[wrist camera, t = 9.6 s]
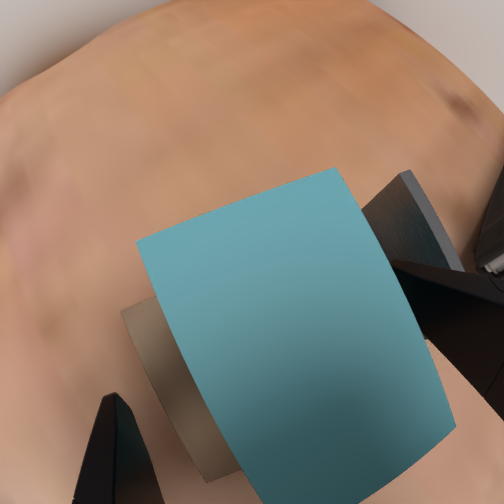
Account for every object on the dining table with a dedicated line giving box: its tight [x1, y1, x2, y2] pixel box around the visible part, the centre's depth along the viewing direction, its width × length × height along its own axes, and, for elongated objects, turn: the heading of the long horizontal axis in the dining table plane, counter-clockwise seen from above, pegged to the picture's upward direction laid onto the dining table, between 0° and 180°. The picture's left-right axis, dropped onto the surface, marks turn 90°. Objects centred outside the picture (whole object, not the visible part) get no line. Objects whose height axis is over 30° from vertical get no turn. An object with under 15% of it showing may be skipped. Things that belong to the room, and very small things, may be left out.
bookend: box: [361, 169, 465, 340], centre depth 14 cm, size 7×4×8 cm, turn 26°
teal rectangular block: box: [136, 167, 456, 504], centre depth 11 cm, size 6×4×12 cm, turn 25°
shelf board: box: [120, 296, 242, 483], centre depth 17 cm, size 10×14×2 cm
